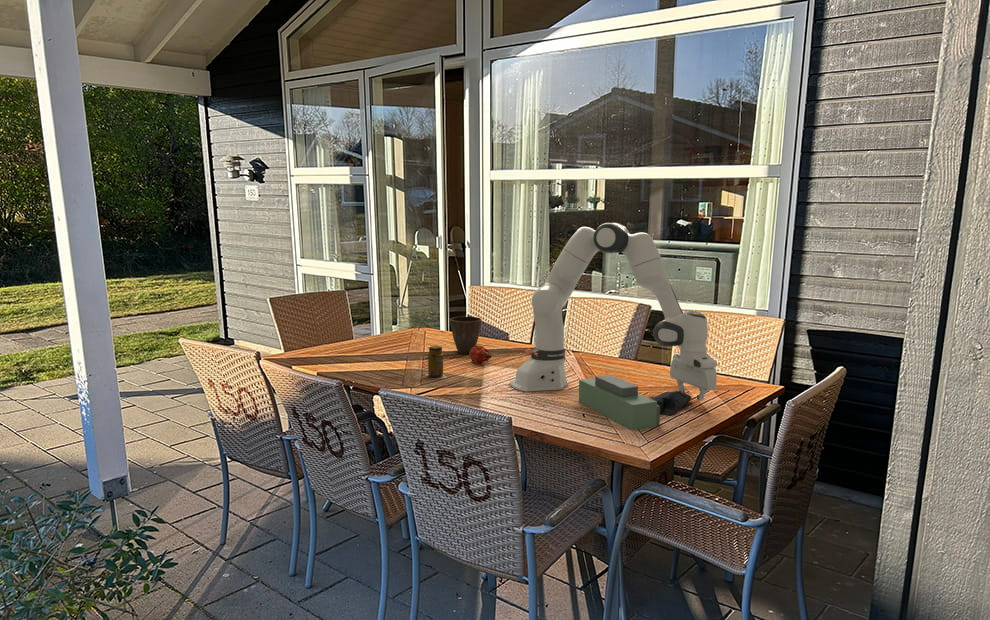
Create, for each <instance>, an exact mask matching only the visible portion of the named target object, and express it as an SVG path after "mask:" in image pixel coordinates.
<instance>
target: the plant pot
mask: <svg viewBox="0 0 990 620" xmlns="http://www.w3.org/2000/svg"><path fill="white" fill-rule="evenodd" d="M482 322H483V321H482V318H481V317H478V316H455V317H451V318H449V323H450V328H451V335H452V338H453V342H454V345H455V348H456V351H457V352H459V354H462V353H464V355H465V354H466V355H468V354H467V353H469V352H470V350H471V349H472V348H473V347H474V346H476V345H478V344H477V343H478V340H479V337H480V332H481V328H482V327H481V326H482Z"/></svg>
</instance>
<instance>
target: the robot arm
mask: <svg viewBox="0 0 990 620" xmlns="http://www.w3.org/2000/svg"><path fill="white" fill-rule="evenodd" d="M599 251H601V252H602V253H606V254H613V255H614V254H619V253H622V254H624V255H625V257H626V259H627V262H628V265H629V267H630V270H631V274H632V276H633V277H634V279H635V281H636V283H637V284H638V285H639V286H640V287H642V288H643V289H645V290H648V291H650V292H651V293H652V294H653V295H654V296H655V297H656V299H657V302H658V304H659V306H660V308H661V311H662V313H663V316H664V319H663V320H662V321H659V322H658V323H656V325H655V326H654V327H653V332H652V333H653V335H652V336H653V338H654V340H655V342H656V343H657V344H658V345H659V346H662V347H680V348H679V353H678V352H676V353H675V354H673V355H672V360H671V363H670V369H669V376H670V379H674V380H676V384H677V387H678V391H680V392H682V393H685V394H686V388H685V385H684V384H687V385H689V386H693V387H695V388H698V389H699V390H698V391H699V394H697V395H696V400H697V401H704V400H705V395H706V393H707V392H708V391H709V392H710V391H714V390H715V388H717V381H718V380H717V377H718V376H717V369H716V368H717V366H718V363H717V360H715V359H714V358H713V357H712V356H710V354H709V353H708V351H707V349H708V348H707V341H708V334H709V333H708V331H709V330H708V320H707V316H705V314H702V313H701V312H698V311H693V310H692V311H691V310H686V311H684V312H683V310H682V308H681V306H680V303H679V301H678V299H677V296H676V294H675V291H674V289H673V287H672V285H671V282H670V280H669V277H668V275H667V273H666V269H665V267H664V263H663V261H662V257H661V255H660V252H659V250H658V248H657V246H656V243H655V242H654V240H653V238H652V236H650V234H649V233H648V232H647V233H646V232H636V233H633V234H632V233H631V230H630V229H629V228H628V227H627V226H625V225H623V224H621V223H619V222H605V223H602V224H600V225H599V226H597V227H596V229H594V228H591V227H588V226H581V227H579V228H578V229H577V230H576V231H575V232H574V233H573V235H572V236H570V238H569V239H568V241H567V242H566V244H565V246H564V247H563V248H562V251H561V252H560V254H559V256H558V257H557V259H556V260H555V262H554V264H553V266H552V268H551V270H550V273H549V274H548V276H547V279H546V280H545V283H543V285H542V286H540V287H538V288H537V289H536V290H535V291H534V293H533V295H532V297H531V306H532V312H533V320H534V325H535V330H534V331H535V334H534V335H535V338H534V340H535V343H534V344H535V345H534V347H533V349H532V348H526V350H525V351H526V353H527V354H528V355H530V358H529V359H527V360H526V361H525V362H524V363H523V364H522V365H520V366H519V367H518V368H517V369H516V372H515V373H516V374H515V377H514V378H515V379H512V380H509V385H510V387H512V388H513V389H516V390H517V391H520V392H521V391H522V392H524V393H525V392H541V391H555V390H556V391H559V390H560V391H561V390H563V389H564V388H565V387H566V386H568V381H567V380H568V379H567V375H566V370H565V369H566V367H565V361H566V360H565V359H566V348H565V326H564V321H563V320H564V319H563V308H564V307H565V305H566V304H567V302H568V301H569V299H570V297H571V295H572V294H573V292H574V290H575V288H576V287H577V284H578V282H579V280H580V278H581V277H582V276H583V274H584V272H585V271H586V269H587V268H588V266H589V264H590V263H591V261H592V260H593V258H594V256H595V255H596V254H597V253H598V252H599Z"/></svg>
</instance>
